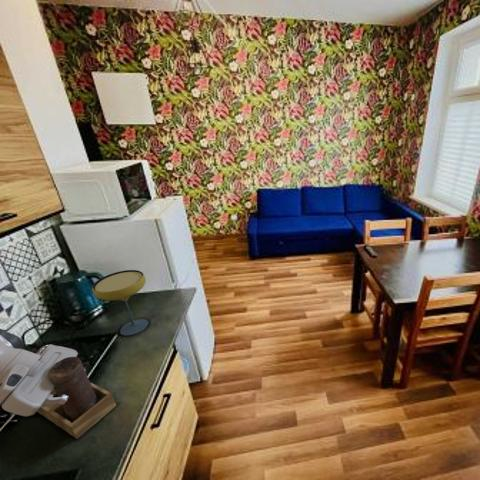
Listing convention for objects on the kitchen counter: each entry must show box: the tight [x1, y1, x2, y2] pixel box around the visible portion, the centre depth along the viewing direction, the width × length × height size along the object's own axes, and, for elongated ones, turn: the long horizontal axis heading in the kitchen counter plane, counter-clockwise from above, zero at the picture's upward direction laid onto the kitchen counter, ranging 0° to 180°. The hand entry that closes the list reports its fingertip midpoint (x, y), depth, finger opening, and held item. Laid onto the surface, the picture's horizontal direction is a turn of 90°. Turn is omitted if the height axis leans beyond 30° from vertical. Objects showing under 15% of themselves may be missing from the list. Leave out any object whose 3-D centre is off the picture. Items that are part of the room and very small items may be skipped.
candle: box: [48, 356, 98, 423], centre depth 80 cm, size 8×7×20 cm
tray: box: [36, 381, 117, 440], centre depth 85 cm, size 21×11×6 cm, turn 68°
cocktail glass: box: [91, 269, 149, 337], centre depth 116 cm, size 18×18×25 cm
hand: (75, 386), depth 80 cm, fingers open, 8 cm apart
